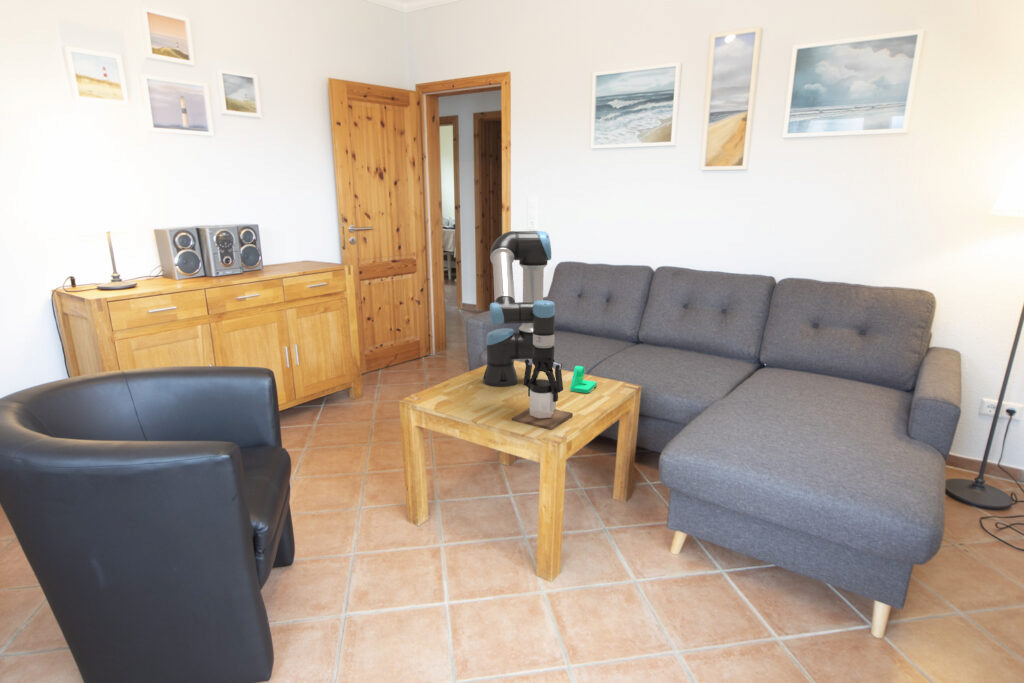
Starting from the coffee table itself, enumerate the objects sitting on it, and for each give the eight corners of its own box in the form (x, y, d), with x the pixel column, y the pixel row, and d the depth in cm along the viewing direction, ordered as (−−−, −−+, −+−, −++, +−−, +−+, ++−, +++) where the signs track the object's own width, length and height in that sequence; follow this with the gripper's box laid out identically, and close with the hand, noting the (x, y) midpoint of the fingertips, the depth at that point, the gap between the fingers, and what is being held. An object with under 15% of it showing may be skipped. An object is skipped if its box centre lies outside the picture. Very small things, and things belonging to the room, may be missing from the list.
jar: (532, 419, 195) (532, 387, 192) (526, 411, 203) (527, 380, 200) (556, 417, 197) (557, 385, 194) (550, 409, 205) (550, 378, 202)
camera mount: (587, 395, 228) (588, 371, 226) (570, 393, 232) (570, 369, 229) (596, 387, 239) (597, 364, 237) (580, 385, 242) (580, 362, 240)
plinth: (511, 424, 198) (511, 417, 197) (534, 410, 211) (534, 404, 211) (551, 434, 190) (551, 427, 189) (572, 419, 203) (572, 412, 202)
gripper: (512, 343, 196) (513, 405, 201) (564, 351, 185) (563, 416, 191) (524, 339, 202) (523, 399, 208) (574, 347, 191) (573, 409, 197)
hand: (542, 407), depth 199 cm, fingers closed on jar, 7 cm apart
